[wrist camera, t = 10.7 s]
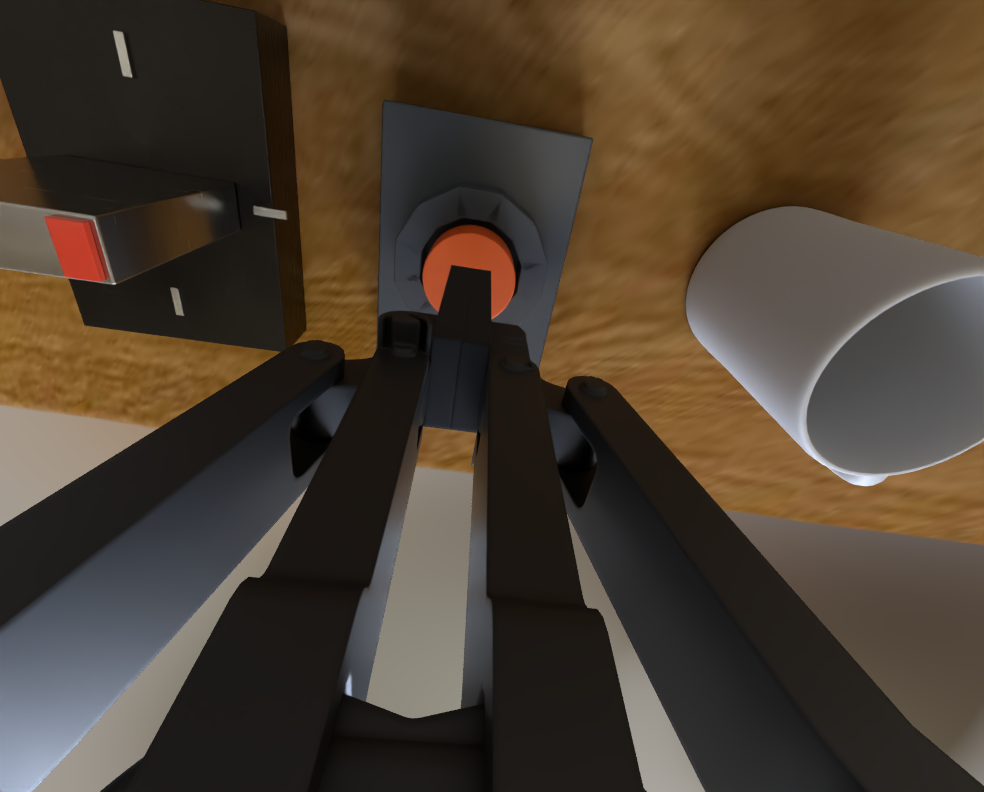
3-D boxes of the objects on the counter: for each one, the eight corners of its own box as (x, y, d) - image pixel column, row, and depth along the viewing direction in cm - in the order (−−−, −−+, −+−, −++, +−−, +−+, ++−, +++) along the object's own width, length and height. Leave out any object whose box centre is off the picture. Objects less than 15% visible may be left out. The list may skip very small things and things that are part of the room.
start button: (430, 217, 19) (425, 225, 18) (521, 232, 20) (523, 240, 18) (424, 304, 22) (419, 317, 20) (505, 316, 22) (506, 330, 20)
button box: (392, 101, 20) (372, 97, 17) (584, 136, 21) (603, 139, 18) (384, 341, 26) (368, 373, 23) (533, 361, 27) (539, 396, 24)
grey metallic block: (77, 205, 20) (-153, 251, 13) (60, 154, 19) (-198, 173, 12) (241, 230, 20) (109, 288, 13) (234, 182, 19) (88, 217, 12)
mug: (671, 242, 24) (791, 322, 14) (846, 176, 22) (1111, 218, 13) (703, 417, 29) (802, 556, 20) (842, 375, 28) (1021, 504, 18)
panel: (16, -28, 18) (-68, -53, 15) (301, 28, 19) (270, 12, 16) (114, 303, 25) (68, 325, 23) (317, 331, 26) (297, 355, 23)
